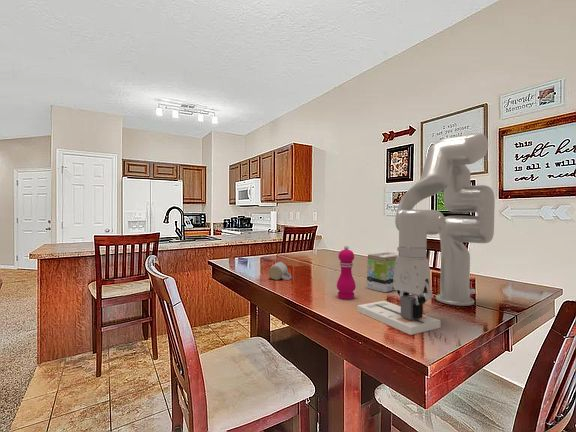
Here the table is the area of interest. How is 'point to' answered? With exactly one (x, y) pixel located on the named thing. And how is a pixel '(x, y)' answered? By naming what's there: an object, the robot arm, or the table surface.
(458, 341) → the table surface
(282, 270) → the ceramic mug
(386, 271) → the tea box
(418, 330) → the fader console
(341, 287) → the pepper mill
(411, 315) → the fader
